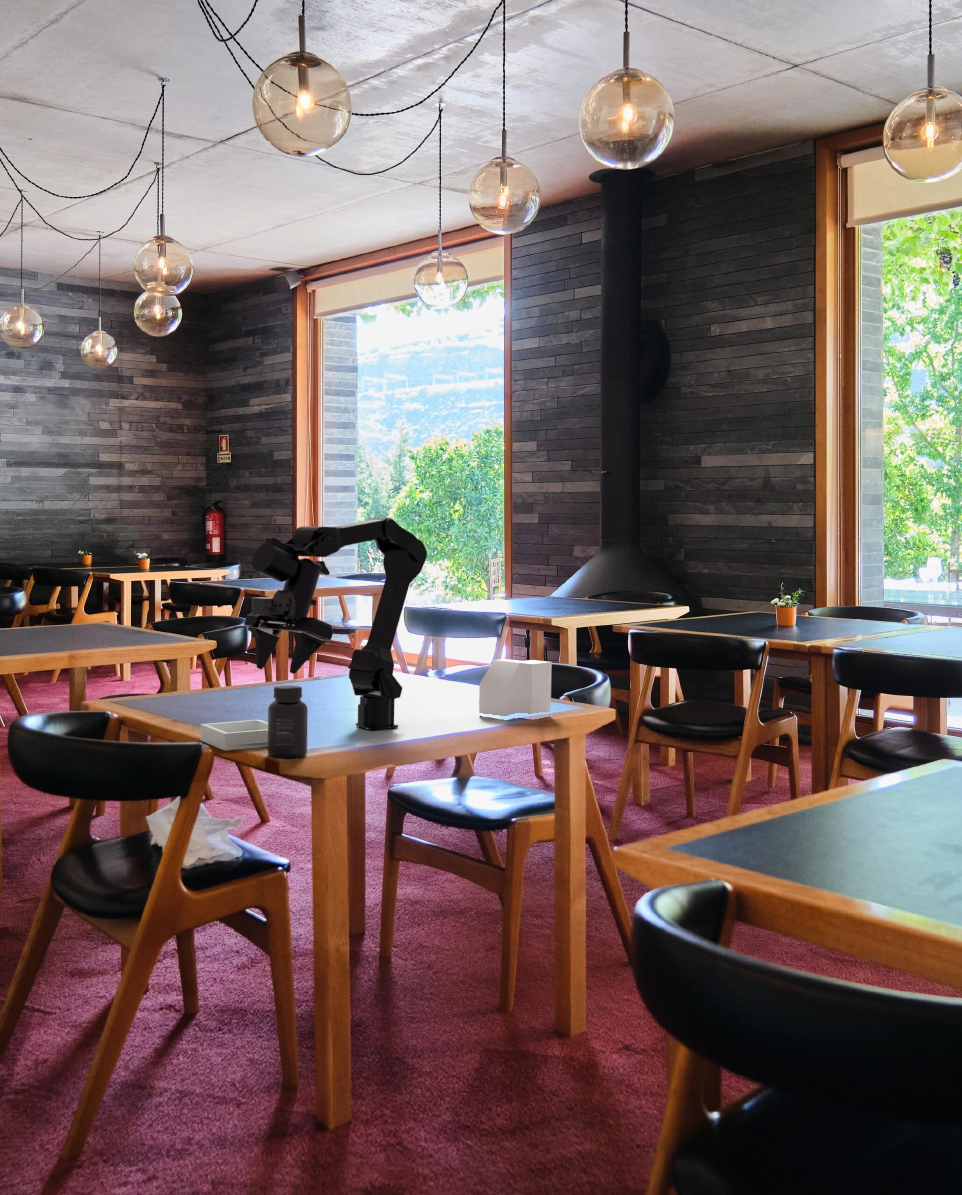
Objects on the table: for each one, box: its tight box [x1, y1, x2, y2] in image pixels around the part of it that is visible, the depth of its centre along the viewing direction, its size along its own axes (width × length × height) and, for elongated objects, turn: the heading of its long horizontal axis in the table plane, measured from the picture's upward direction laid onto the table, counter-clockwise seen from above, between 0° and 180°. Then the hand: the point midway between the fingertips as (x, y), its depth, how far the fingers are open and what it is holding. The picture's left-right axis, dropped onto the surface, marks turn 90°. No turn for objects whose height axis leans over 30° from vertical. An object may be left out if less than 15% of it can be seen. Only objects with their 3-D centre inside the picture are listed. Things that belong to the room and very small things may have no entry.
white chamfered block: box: [478, 658, 553, 716], centre depth 245 cm, size 11×11×12 cm
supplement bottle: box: [267, 685, 309, 759], centre depth 197 cm, size 7×7×12 cm
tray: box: [200, 719, 268, 752], centre depth 209 cm, size 12×12×3 cm
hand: (275, 670), depth 207 cm, fingers open, 9 cm apart
